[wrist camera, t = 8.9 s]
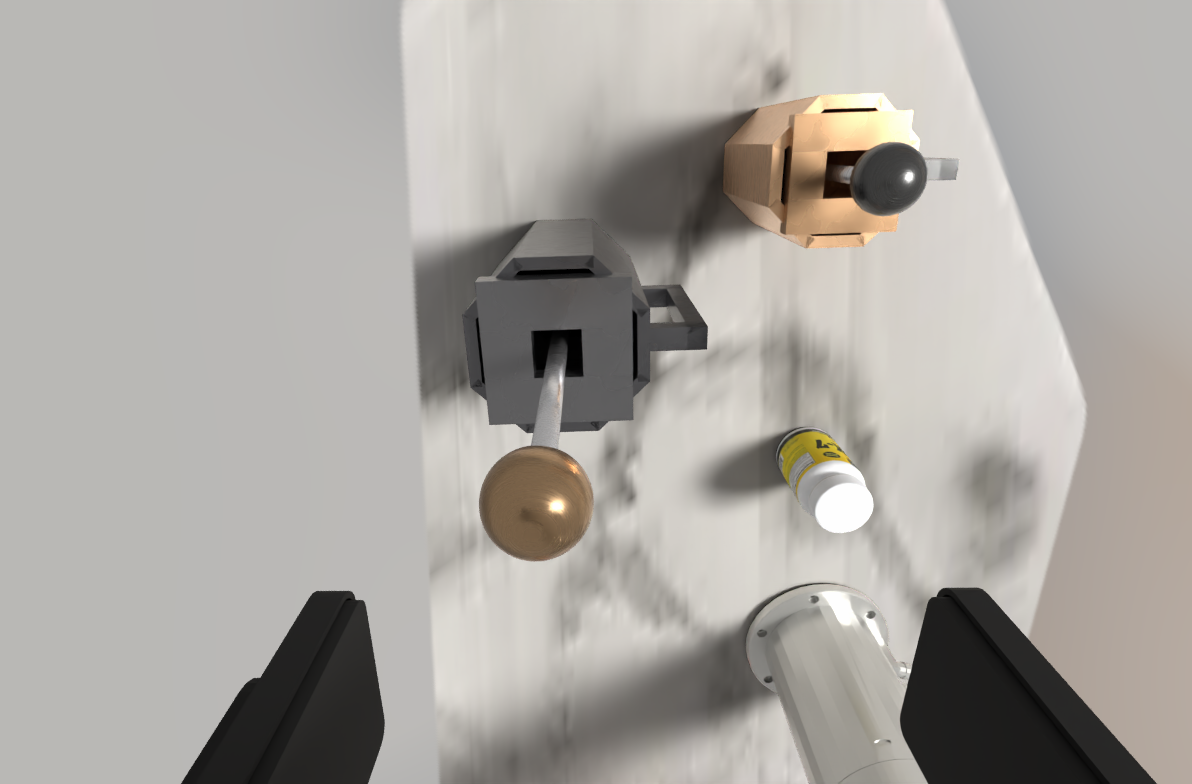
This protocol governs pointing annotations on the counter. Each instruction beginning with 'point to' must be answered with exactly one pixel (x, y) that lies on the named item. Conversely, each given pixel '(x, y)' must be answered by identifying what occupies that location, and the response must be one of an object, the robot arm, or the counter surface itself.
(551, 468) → the plunger rod
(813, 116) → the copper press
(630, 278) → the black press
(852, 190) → the grey ball handle
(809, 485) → the supplement bottle
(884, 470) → the counter surface
